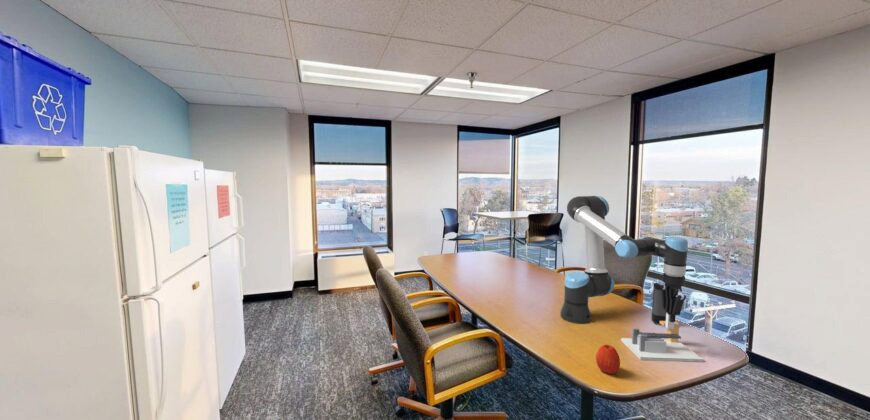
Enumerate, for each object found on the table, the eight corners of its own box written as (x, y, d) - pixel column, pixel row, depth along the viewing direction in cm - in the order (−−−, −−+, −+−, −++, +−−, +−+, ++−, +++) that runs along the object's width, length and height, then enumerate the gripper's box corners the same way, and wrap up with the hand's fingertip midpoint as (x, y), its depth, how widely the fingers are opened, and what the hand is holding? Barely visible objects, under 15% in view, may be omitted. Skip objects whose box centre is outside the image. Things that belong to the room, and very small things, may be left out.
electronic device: (671, 322, 167) (674, 284, 165) (675, 327, 161) (678, 287, 159) (650, 319, 170) (652, 282, 168) (654, 324, 164) (656, 286, 162)
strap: (640, 339, 137) (641, 336, 137) (635, 334, 141) (635, 331, 141) (682, 340, 136) (682, 337, 136) (675, 335, 140) (675, 332, 140)
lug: (662, 341, 144) (663, 323, 143) (658, 338, 147) (659, 320, 146) (678, 342, 144) (679, 324, 143) (673, 338, 147) (674, 321, 146)
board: (640, 359, 132) (641, 341, 131) (621, 340, 148) (621, 323, 147) (702, 362, 130) (704, 343, 130) (676, 342, 146) (677, 325, 145)
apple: (596, 375, 122) (597, 347, 121) (594, 363, 130) (595, 337, 129) (621, 379, 119) (622, 351, 118) (617, 367, 127) (618, 341, 126)
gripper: (694, 279, 129) (689, 335, 132) (673, 269, 142) (669, 321, 144) (674, 279, 130) (670, 335, 132) (655, 269, 142) (651, 320, 145)
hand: (669, 327), depth 138 cm, fingers closed
